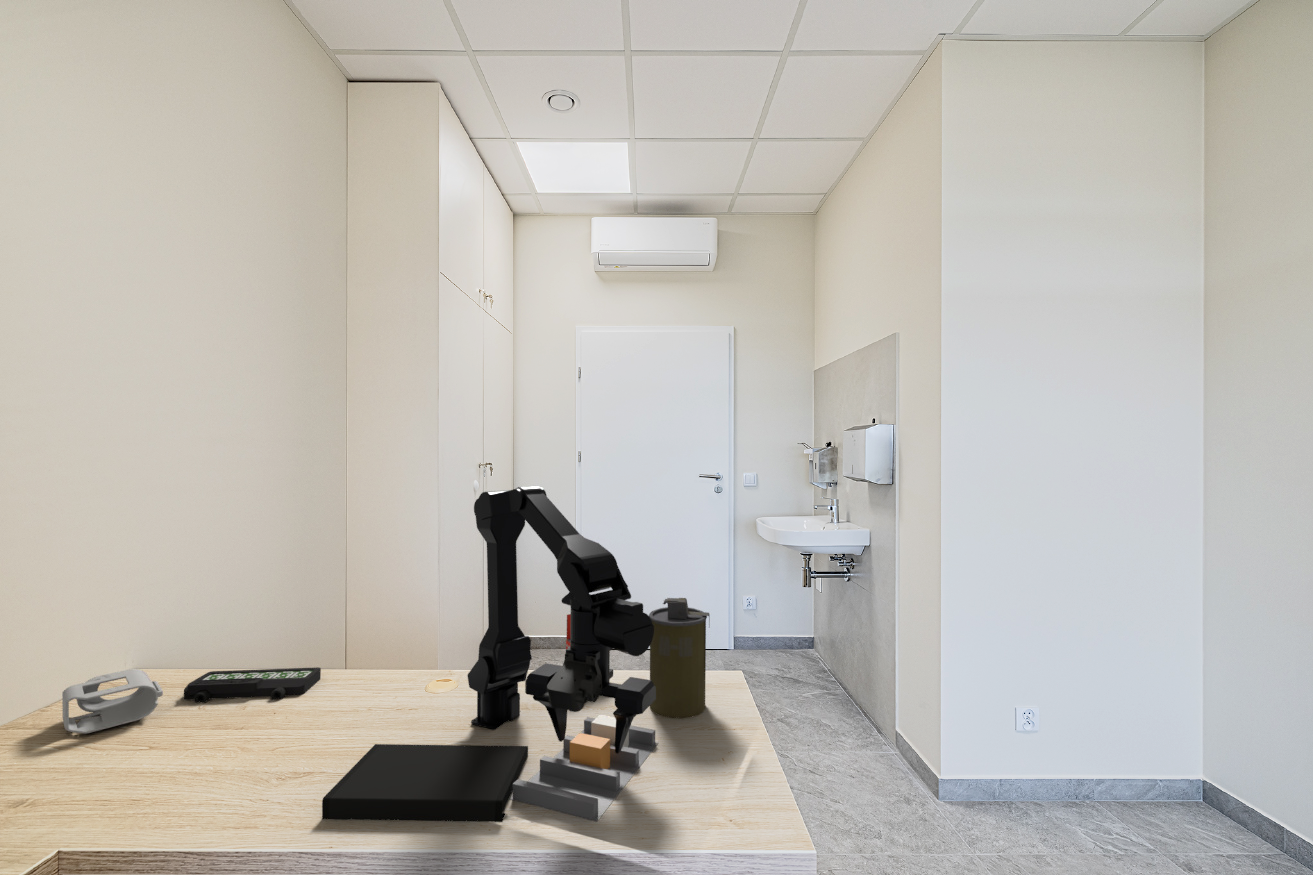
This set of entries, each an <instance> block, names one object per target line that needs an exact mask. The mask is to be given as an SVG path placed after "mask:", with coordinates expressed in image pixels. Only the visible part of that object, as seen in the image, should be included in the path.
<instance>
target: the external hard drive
mask: <svg viewBox="0 0 1313 875" xmlns="http://www.w3.org/2000/svg"><path fill="white" fill-rule="evenodd" d="M528 757H529V746H528V745H479V744H478V745H475V744H474V745H473V744H472V745H471V744H467V745H465V744H463V745H462V744H398V743H397V744H395V743H394V744H391V743H389V744H387V743H386V744H385V743H383V744H381V743H375V744H373V746H372V747H371V748H370V749H369V750H368V751H367V752H366V753H365V754H364V755H363V756H362V757H360V759H359V760H358V761H357V762H356V763H355V764H354V765H353V767H351V769H350V770H348V771H347V773H345V775H344V776H342V778H341V779H340V780H339V781H337V783H336V784H335V785H334V786H333V787H332V788H331V789H330V790H329V791H328V792H327V793H326V795H324V796H323V797H322V801H321V812H322V813H321V815H322V816H321V819H322V820H336V821H337V820H342V821H343V820H346V821H348V820H349V821H350V820H351V821H404V822H405V821H406V822H407V821H408V822H410V821H412V822H468V823H471V822H473V823H475V822H476V823H477V822H479V823H503V821H504V818H505V816H506V813H505V812H504V811H505V808H506V806H507V804H508V802H509V800H510V799H509V798H510V797H511V796H512V794H513V783H514V782H515V781H516V780H518V779H519V778H520V774H522V770H523V768H524V766H525V763H526V762H527V759H528Z"/></svg>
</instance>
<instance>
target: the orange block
mask: <svg viewBox="0 0 1313 875" xmlns="http://www.w3.org/2000/svg"><path fill="white" fill-rule="evenodd" d="M570 761H571V762H576V763H580V764H585V765H589V766H594V767H598V768H603V769H608V768H609V767H610V739H607V738H602V737H598V736H593V735H588V734H583V733H581V732H580V733H578V734H577V735H575V738H574V739H573V740H572V741H570Z"/></svg>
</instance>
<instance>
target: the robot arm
mask: <svg viewBox="0 0 1313 875" xmlns="http://www.w3.org/2000/svg"><path fill="white" fill-rule="evenodd" d="M547 496H548V495H547V492H546V490H545V489H544V488H543V487H540V486H538V485H535V486H534V485H533V486H531V485H530V486H518V487H516V488H513V489H511V490H510V489H507V490H494V491H493V490H491V491H490V490H489V491H483V492H481V493H480V494H479V497H478V498H476V499H475V502H474V504H473V512H474V515H475V522H476V528H477V530H478V532H479V533H480V535H481V536H482V538H483V540H484V541H485V543H486V564H487V566H486V567H487V568H486V570H487V572H486V573H487V576H486V577H487V608H488V609H487V610H488V612H487V614H488V616H487V618H488V624H487V625H488V628H487V630H486V632H485V634H484V636H483V637H482V639H481V641H480V643H479V646H478V647H479V648H478V656H477V657H478V660H477V661H476V662H475V664H474V665H473V667H472V668H471V669H470V671H469V672H468V673H467V675H466V676H467V681H468V687H469V688H470V689H472V690H473V691H475V692H477V693H476V694H477V697H476V703H477V704H476V706H477V708H476V710H477V711H476V717H475V718H473V719H472V720H470V721H471V722H470V724H471V725H474V726H479V727H481V728H482V727H484V728H488V729H491V730H497V729H499V728H500V727H501V726H502V725H504V724H505V723H507V722H513V721H514V720H516V719H517V718H519V717H520V716H521V710H520V708H521V694H520V692H519V683H521V682H525V683H524V685H525V686H524V687H525V688H524V689H525V690H524V693H525V694H526V695H529V696H532V698H533V701H537V702H538V703H540V704H541V705H542V706H544V707H545V709H546V711H547V712H548V715H549V717H550V720H551V723H552V726H553V728H554V731H555V735H556V738H557V740H558V742H563V740H564V739H565V737H566V732H567V725H568V724H567V721H568V711H569V712H570V713H571V712H572V713H579V712H580V711H581V710H583V708H584V707H585V704H587V703H588V702H591V703H596V702H597V700H598V698H599V697H604V698H605V697H606V698H609V699H610V698H611V699H614V706H615V707H616V709H615V710H614V711H613V712H612V715H613V717H615V719H616V731H615V753H617V754H618V753H619V752H620V751H621V749H622V746H623V744H624V741H625V738H626V736H627V733H628V731H629V728H630V725H632V722H634V721H633V720H634V718H635V717H636V716H638V715H642V714H643V713H644V712H645V711H646V710H647V709H648V708H650V705H651V704H652V703H653V702H654V700H655V699H656V687H655V685H654V684H653V682H652V680H650V679H645V678H641V677H634V676H633V677H632V676H629V677H628V678H627V679H626V680H625V681H624V682H622V683H614V682H610V679H612V678H613V677H614V668H610V667H611V666H610V664H611V662H610V659H611V658H610V656H611V654H610V652H611V651H612V650H615V651H617V652H618V651H619V652H621V653H623V654H626V655H629V656H633V657H639V656H642V655H643V654H645V652H647V650H648V649H650V644H651V642H652V639H653V636H654V625H653V624H652V620H651V618H650V617H649V614H647V613H646V612H644V604H643V603H642V602H638V601H629V600H631V598H632V594H631V592H630V590H629V585H628V584H627V582H626V581H625V578H624V577H623V575H622V572H621V570H620V568H619V566H618V562H617V559H616V558H615V556H614V554H613V553H612V552H610V551H609V550H608V549H607V548H606V547H604V546H603V545H602V544H600V543H599V542H596V541H594V540H591V539H589V538H586V537H584V536H583V535H581V533H580V532H579V531H578V530H577V528H575V527H574V526H573V525H572V523H570V521H569V520H568V519H567V518H566V517H565V515H564V514H563V513H562V512H561V511H560V510H559V508H557V506H556V505H555V504H554V503H553V502H552V501H551V500H550V499H549V497H547ZM526 523H528V525H529V527H531V529H532V530H533V531H534V532H535V534H537V536H538V537H539V538H540V540H541V541H542V542H543V544H545V546H546V547H547V548H548V549H549V550H550V552H551V553H552V554H553V555H554V558H555V559H556V573H557V574H558V577H560V579H561V580H562V583H563V584H564V587H565V588H566V589H567V591H568V593H567V594H565V595H564V596H563V597H562V598H561V603H562V604H564V605H567V606H570V614H571V626H570V647H569V648H568V649H566V648H565V653H564V660H563V664H562V665H559V664H553V663H552V664H551V663H547V662H546V663H544V664H542V665H541V666H538V668H536V669H534V670H533V671H531V672H530V673H528V672H529V668H530V665H531V660H532V659H533V658H532V657H533V656H532V654H531V653H532V651H531V644H532V640H531V637H530V636H529V635H525V634H524V632H523V631H522V628H520V626H519V609H518V608H519V605H518V602H519V600H518V567H517V566H518V563H517V560H518V558H517V541H518V539H519V537H520V536H521V533H522V532H523V530H524V528H525V527H526ZM610 588H611V589H610ZM607 589H608V590H607ZM603 590H606V591H603ZM599 591H602V592H599ZM595 592H597V593H595ZM591 593H593V594H591Z"/></svg>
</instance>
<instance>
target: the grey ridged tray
mask: <svg viewBox="0 0 1313 875" xmlns="http://www.w3.org/2000/svg"><path fill="white" fill-rule="evenodd" d="M595 719H596V718H594V717H590V716H587V717H586V718H585V719H583V730H582V731H581V732H580V733H583V734H588V735H591V722H592V721H594V720H595ZM575 737H576V735H575V736H574V735H569V734H566V735H565V739H564V740H563V741H562V742H563V746H562V747H563V748H562V749H561V750H560V751H559V752H558V753H557V754H556V755H555V756H554V757H553V756H548V755H543V756H542V757H541V758H540V759H539V770H538V771H537V772H536V773H535V774H533V776H532V777H531V778H529V780H528V781H527V780H523V779H519V778H518V780H516V781H515V782H514V783H513V791H512V794H511V795H510V798H509V800H512V801H516V802H520V803H523V804H528V805H531V806H535V807H539V808H542V809H545V810H550V811H553V812H559V813H562V814H565V815H569V816H573V817H577V818H580V819H584V820H589V821H592V822H596V823H597V822H598V821H599V819H601V817H602V816H603V814H604V813H605V812H606V811H607V810H608V808H610V806H611V804H613V802H614V801H615V799H616V798H617V797H618V796H619V794H620V793H621V792H622V791H623V789H624V788H625V787H626V785H628V783H629V782H630V780H631V779H632V778H633V777H634V775H635V774H636V772H637V771H638V770H639V769H640V768H641V766H642V765H643V764H644V763H645V761H646V760H647V759H648V757H649V756H650V755H651V754H652V752H653V751H654V749H655V748H657V746H658V744H659V742H656V729H652V728H647V727H641V726H636V725H632V724H631V725H630V728H629V746H628V747H623V746H622V749H621V751H620V752H619V753H618V754H617V753H615V745H614V744H610V767H609V768H608V769H603V768H598V767H594V766H589V765H585V764H580V763H576V762H571V761H570V741H572V740H573V739H574V738H575Z"/></svg>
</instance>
